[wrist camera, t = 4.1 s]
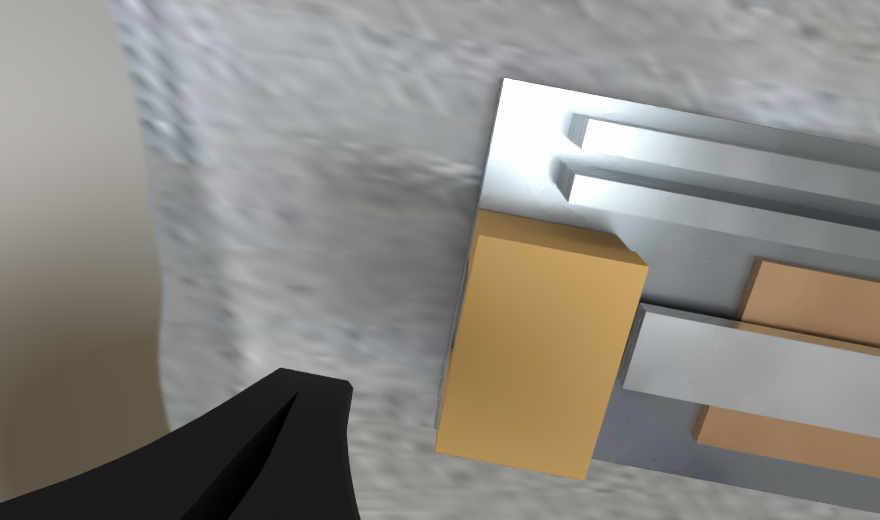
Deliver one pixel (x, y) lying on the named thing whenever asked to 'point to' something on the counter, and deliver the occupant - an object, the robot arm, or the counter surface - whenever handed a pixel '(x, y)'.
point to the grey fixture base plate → (707, 263)
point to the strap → (753, 369)
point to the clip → (537, 344)
